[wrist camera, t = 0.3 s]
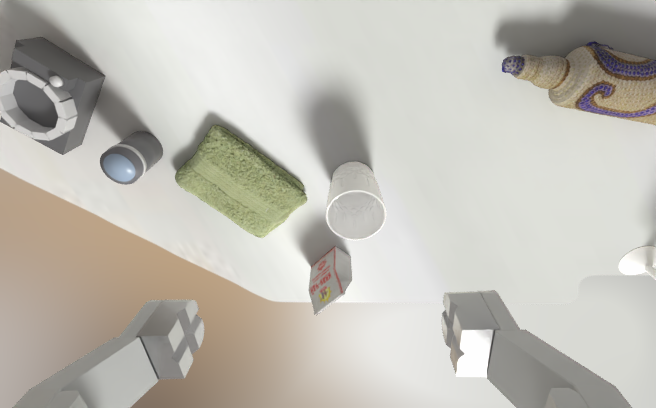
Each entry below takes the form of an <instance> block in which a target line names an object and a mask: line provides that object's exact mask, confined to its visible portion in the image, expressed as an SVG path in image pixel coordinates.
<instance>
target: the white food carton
mask: <svg viewBox="0 0 656 408" xmlns="http://www.w3.org/2000/svg"><path fill="white" fill-rule="evenodd" d="M351 281H352V271H351V257H350V256H349V255H348V254H346V253H345V252H343V251H342V250H341V249H339V248H338V247H336V246H335V247H334V248H333V249H331V250H330V251H329V252H328V253H327V254H326V255H325V256H323V257H322V258H321V259H320V260H319V261H318V262H317V263H315V264H314V265H313V266H312V267H311V274H310V283H309V294H310V297H311V300H312V304H313V308H314V314H317V315H318V314H319V313H320V312H321V311H323V310H324V309H326V308H327V307H328V306H329V305H331V304H332V303H333V302H335V301H336V300H337V299H339V298H340V297H341V296H343V295H344V294H345V291H346V289H347V287H348V285H349V284H350V282H351Z"/></svg>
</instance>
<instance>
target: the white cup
mask: <svg viewBox="0 0 656 408" xmlns="http://www.w3.org/2000/svg"><path fill="white" fill-rule="evenodd" d="M385 220H386V208H385V205H384V202H383V198H382V195H381V192H380V189H379V186H378V184H377V181H376V179H375V177H374V173H373V172H372V170H371V169H370V168H369V167H368V166H367V165H365V164H363V163H360V162H347V163H345V164H342V165H340V166H339V167H338V168H337V169H336V170H335V172H334V173H333V176H332V181H331V184H330V189H329V194H328V201H327V209H326V221H327V224H328V226H329V228H330V229H331V230H332V231H333V232H334V233H335V234H336V235H338V236H340V237H342V238H345V239H349V240H362V239H366V238H369V237H371V236H373V235H374V234H376V233H377V232H378V231H379V230H380V229H381V228H382V227H383V225H384V223H385Z"/></svg>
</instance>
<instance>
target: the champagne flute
mask: <svg viewBox="0 0 656 408" xmlns="http://www.w3.org/2000/svg"><path fill="white" fill-rule="evenodd" d="M655 265H656V247H654V246H643V247H639V248H636V249H634V250H632V251H630V252H629V253H627V254H626V255H625V256H624V257H623V258H622V259H621V261H620V263H619V270H620V271H621V272H622V273H624V274H628V275H635V274H640V273H643V272H647V273H649V274H650V275H651V276H652V277H653V278H654V279H655V280H656V269H654V268H653V267H654V266H655Z"/></svg>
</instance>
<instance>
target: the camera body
mask: <svg viewBox="0 0 656 408" xmlns="http://www.w3.org/2000/svg"><path fill="white" fill-rule="evenodd" d="M104 79H105V76H104V75H102V74H101V73H99V72H97V71H96V70H94V69H93V68H91V67H89V66H88V65H86V64H85V63H83V62H81V61H80V60H78V59H77V58H75V57H73V56H72V55H70V54H68V53H67V52H65V51H64V50H62V49H60V48H59V47H57V46H56V45H54V44H52V43H51V42H49V41H48V40H46V39H44V38H43V37H39V38H32V39H24V40H16V44H15V48H14V51H13V56H12V64H11V69H8V70H4V71H3V72H1V73H0V115H1V120H0V122H2V123H4V124H5V125H7V126H9V127H11V128H13V129H15V130H16V131H18V132H20V133H22V134H24V135H26V136H28V137H30V138H32V139H34V140H36V141H37V142H39V143H41V144H43V145H45V146H47V147H49V148H51V149H52V150H54V151H56V152H58V153H60V154H62V155H64V154H66V153H67V152H69V151H71V150H73V149H74V148H76V147H78V146H80V145H81V144H82V142H83V139H84V136H85V133H86V130H87V127H88V125H89V122H90V119H91V116H92V113H93V110H94V107H95V104H96V102H97V99H98V96H99V93H100V90H101V87H102V84H103V81H104Z"/></svg>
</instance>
